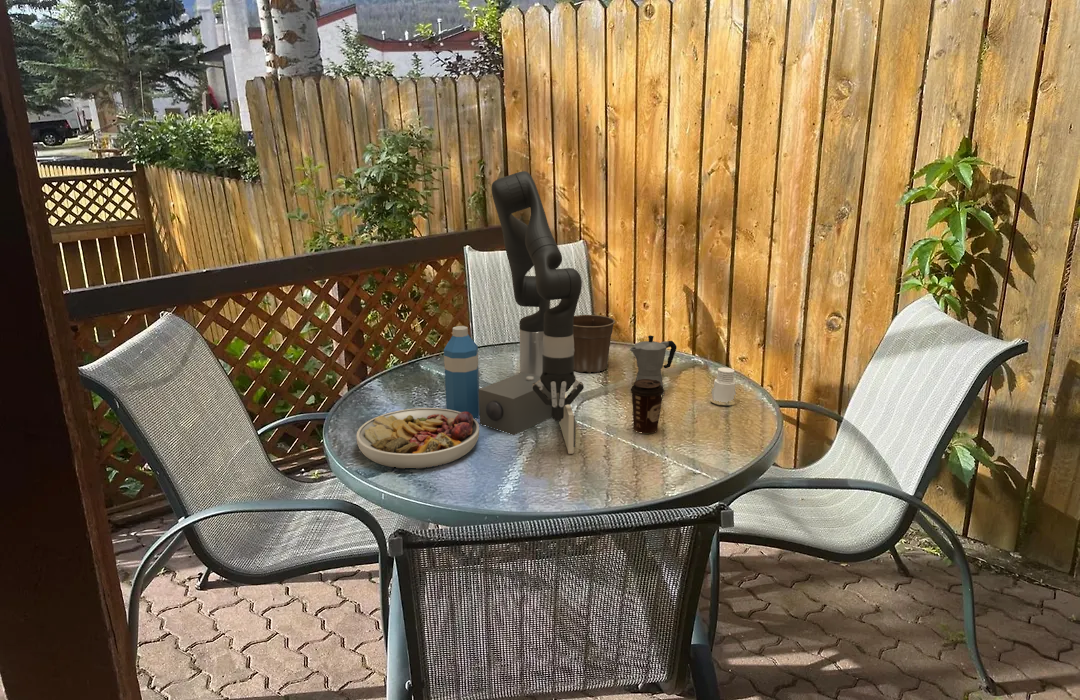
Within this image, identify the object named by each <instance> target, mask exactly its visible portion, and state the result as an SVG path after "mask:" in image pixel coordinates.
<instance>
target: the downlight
mask: <svg viewBox="0 0 1080 700" xmlns="http://www.w3.org/2000/svg"><path fill="white" fill-rule="evenodd" d="M734 378H735V369H733V368H730V367H718V368H717V373H716V378H715V379H714V383H713V387H712V388H711V396H712V398H713V400H714V401H715V400H716V401H719V402H720V401H721V402H728V401H731V400H733V399H735V398H734V395H735V397H736V396H737V392H736V381H735V379H734ZM712 398H711V399H712ZM733 401H734V400H733Z"/></svg>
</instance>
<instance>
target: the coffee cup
mask: <svg viewBox="0 0 1080 700" xmlns="http://www.w3.org/2000/svg"><path fill="white" fill-rule="evenodd" d="M663 392H664V393H665V388H664V385H663V386H661V383H660V382H659V381H657V380H651V379H641V380H637V381H636V380H635V381H634V382H633V385H632V386H631V388H630V393H631V402H632V417H633V424H632V425H633V427H632V429H634V430H635V431H634V430H633V431H634V432H636V431H637V432H636V433H638V432H642V433H651V434H654V433H656V432H657V431H658V430H659V429H658V427H659V420H660V416H661V408H662V403H663V396H662V397H661V394H663ZM655 431H656V432H655ZM642 433H641V434H642Z"/></svg>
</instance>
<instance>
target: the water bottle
mask: <svg viewBox="0 0 1080 700" xmlns="http://www.w3.org/2000/svg"><path fill="white" fill-rule="evenodd" d="M468 328H469V327H468V326H466V325H458V326H454V327H452V336H451V337H450V339H449V340H448V342H447V344H446V345H445V347H444V349H443V362H444V382H445V383H444V384H445V385H444V386H445V406H446V407H445V409H449V410H454V411H458V412H465V411H466V412H469V413H471V414H472V415H473V418H474V419H475V418H477V419H479V418H480V414H479V389H480V387H479V386H480V384H479V383H480V377H479V374H480V373H479V350H478V349H479V347H478V344H477V343H476V342H475V341H474V339H473V338H472V337H471V336H470V335H469V331H468V330H469V329H468ZM475 420H476V419H475Z"/></svg>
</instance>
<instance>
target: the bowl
mask: <svg viewBox="0 0 1080 700" xmlns="http://www.w3.org/2000/svg"><path fill="white" fill-rule="evenodd" d="M479 437H480V423H479V422H478V421H477V419H474V418H473V415H472V414H471V413H469V412H466V411H465V412H458V411H454V410H449V409H446V408H438V407H420V408H419V407H418V408H417V407H416V408H415V407H414V408H407V409H400V410H396V411H395V410H394V411H391V412H387V413H384V414H381V415H378V416H376V417H373V418H371V419H369V420H368V421H366V422H365V423H363V424H362V425H361V426H360V427H359V428H358V430H357V432H356V443H357V446H358V448H359V450H360V452H361V453H362V454H363V455H364V456H365V457H366V458H367V459H369V460H370V461H372V462H375V464H379V465H382V466H385V467H390V468H394V467H396V468H397V469H405V468H416V469H425V468H426V467H427V468H433V467H432V466H434V467H438V465H439V466H442V464H443V465H445V464H449V463H452V462H454V461H456V460H459V459H460V458H463V457H464V456H465V455H467V454H468V453H469V452H471V450H472V449H473V448H474V447H475V446H476V444H477V443H478V439H479Z"/></svg>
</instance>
